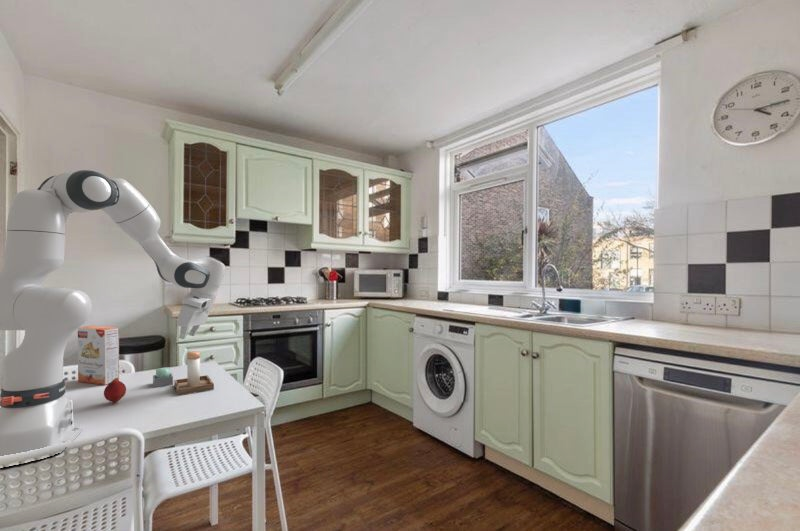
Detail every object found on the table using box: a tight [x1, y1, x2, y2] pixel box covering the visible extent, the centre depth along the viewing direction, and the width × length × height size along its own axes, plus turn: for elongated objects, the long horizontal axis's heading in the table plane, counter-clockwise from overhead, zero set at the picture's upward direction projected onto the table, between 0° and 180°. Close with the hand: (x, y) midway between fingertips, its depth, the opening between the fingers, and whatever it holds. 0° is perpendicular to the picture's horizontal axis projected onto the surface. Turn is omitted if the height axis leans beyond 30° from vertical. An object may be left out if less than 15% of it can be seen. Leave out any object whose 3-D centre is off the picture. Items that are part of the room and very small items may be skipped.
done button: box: [155, 367, 171, 379], centre depth 144 cm, size 4×4×4 cm
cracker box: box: [77, 325, 120, 386], centre depth 147 cm, size 14×6×21 cm, turn 73°
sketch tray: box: [173, 374, 215, 396], centre depth 140 cm, size 13×11×2 cm
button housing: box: [152, 372, 174, 388], centre depth 144 cm, size 6×6×3 cm
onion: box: [103, 378, 127, 404], centre depth 125 cm, size 6×6×8 cm
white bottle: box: [186, 350, 201, 387], centre depth 140 cm, size 4×4×12 cm
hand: (186, 336), depth 140 cm, fingers open, 8 cm apart
